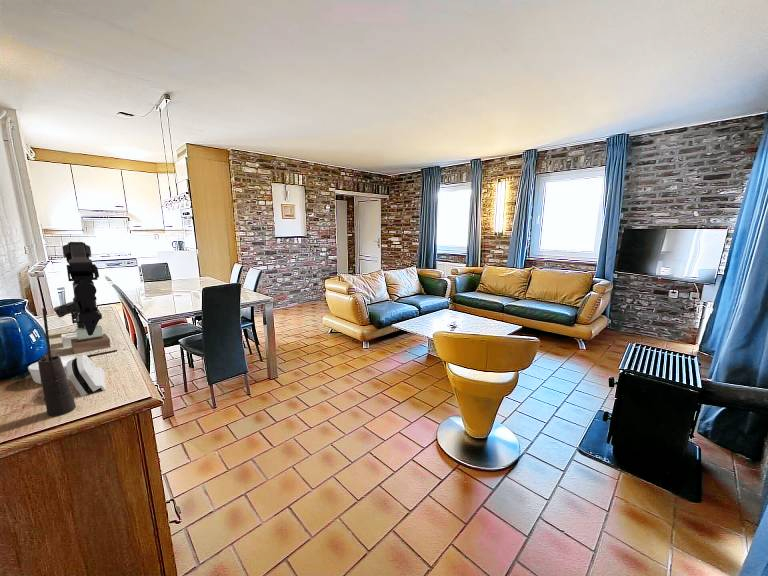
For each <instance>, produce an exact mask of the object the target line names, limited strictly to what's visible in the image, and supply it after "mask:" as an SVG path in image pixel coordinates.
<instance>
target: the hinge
mask: <svg viewBox="0 0 768 576" xmlns="http://www.w3.org/2000/svg"><path fill="white" fill-rule="evenodd" d="M77 357H78V358H74V359H72V360H70V361H69V362H67V365H66V369H67V375H68V377H69V379H68V380H70V383H72V385H73V386H74V388H75V389H76V390H77V392H78V393H79V394H80V396H81V397H85V396H87V395H88V393H90V392H95V391H97V390H99V389H101V390H102V391H103V392H105V391H106V373H105V371H104V369H103V368H102V367H96V365H94V362H92V361H91V359H90V357H87V354H83V355H82V354H81V355H78V356H77Z"/></svg>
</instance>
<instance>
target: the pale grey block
mask: <svg viewBox="0 0 768 576" xmlns="http://www.w3.org/2000/svg"><path fill="white" fill-rule="evenodd" d="M75 332H76V336H77V339H78V340H79V342H81V341H87V340H93V339H99V338H101V336H103V334H104V333H103V327H102V326H101V325H100V324H99V325H98V324H97V326H96V328H95V330H94V332H93V335H90V336H89V335H88V333H87V331H86V328H85V327H84V328H77V327H76V328H75Z"/></svg>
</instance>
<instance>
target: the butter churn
mask: <svg viewBox="0 0 768 576" xmlns="http://www.w3.org/2000/svg"><path fill="white" fill-rule="evenodd" d="M46 310H47V309H46V307H42V317H43V319H42V320H43V323H44V324H43V325H44V331H45V339H46V347H47V348H46V349H47V350H46V351H47V354H45V355H42V356H41V357H42V358H40V359H39V360H38V361H37V362H38V365H39V372H40V377H41V383H42V384H41V386H42V392H43V395H44V396H43V397H44V398H43V400H44V403H45V407H46V409H45V410H46V415H47V416H48V417H58V416H63V415H65V414H68V413H70V412H72V411H74V410H75V409H76V408H77V406H76V402H75V399H74V395H73V392H72V389H71V387H70V384H69V379H67V376H66V374H65V371H64V368H63V364H62V361H61V358H60V357H61V356H58V355H55V356H52V349H51V345H50V336H49V327H48V318H47V316H48V315H47V311H46Z"/></svg>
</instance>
